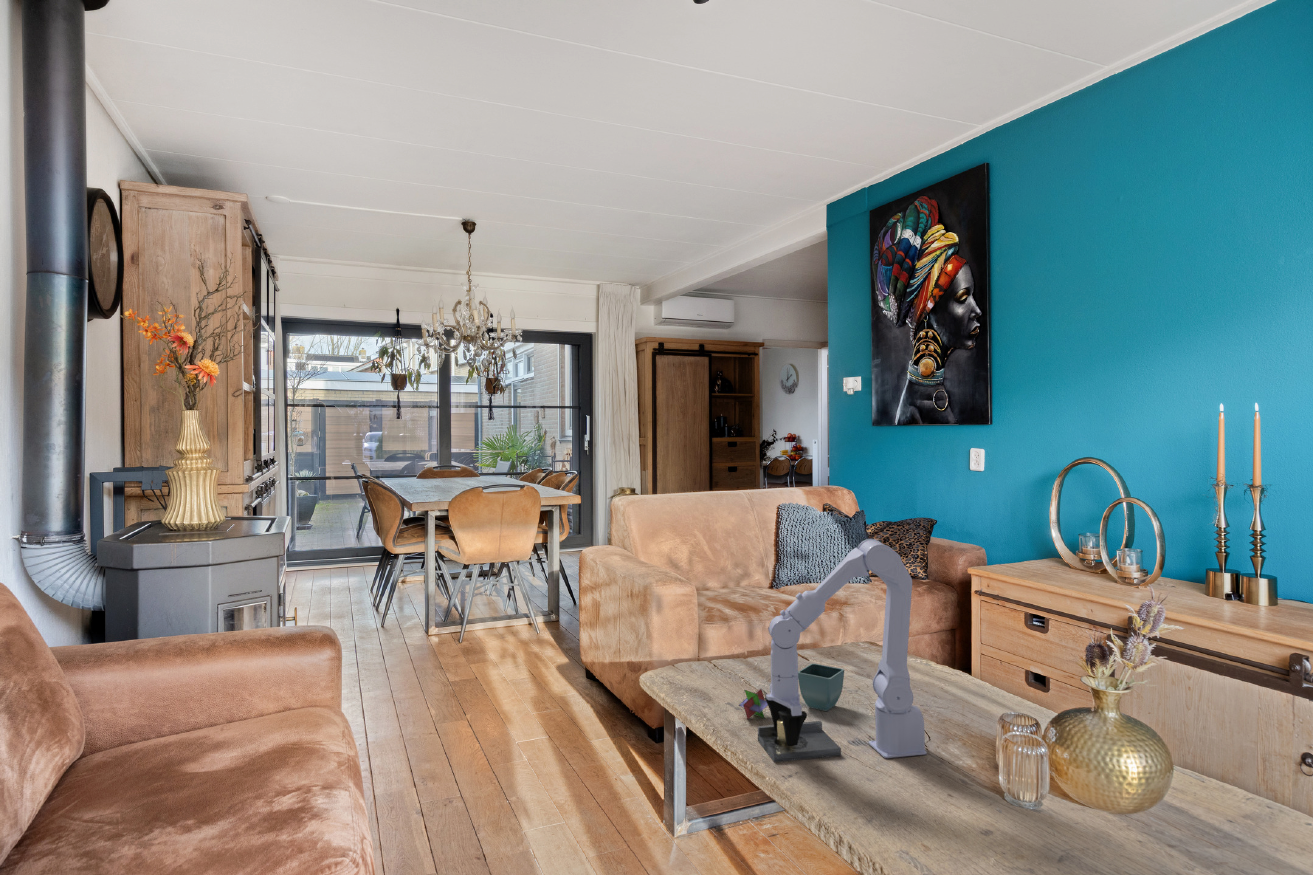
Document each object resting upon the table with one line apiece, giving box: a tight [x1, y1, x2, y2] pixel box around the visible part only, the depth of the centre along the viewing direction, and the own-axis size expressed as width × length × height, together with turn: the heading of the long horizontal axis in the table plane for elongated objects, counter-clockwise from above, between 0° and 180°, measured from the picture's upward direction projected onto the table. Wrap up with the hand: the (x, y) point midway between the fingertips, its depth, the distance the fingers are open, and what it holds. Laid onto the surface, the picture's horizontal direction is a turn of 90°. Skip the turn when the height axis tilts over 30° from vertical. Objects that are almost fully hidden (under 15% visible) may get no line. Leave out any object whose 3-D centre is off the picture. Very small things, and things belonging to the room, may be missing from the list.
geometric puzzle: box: [738, 688, 768, 720], centre depth 177 cm, size 7×7×8 cm
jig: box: [757, 720, 842, 763], centre depth 159 cm, size 14×11×3 cm
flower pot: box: [798, 662, 845, 712], centre depth 183 cm, size 9×9×9 cm
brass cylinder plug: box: [777, 719, 795, 747], centre depth 158 cm, size 4×4×6 cm
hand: (785, 737), depth 158 cm, fingers open, 7 cm apart
